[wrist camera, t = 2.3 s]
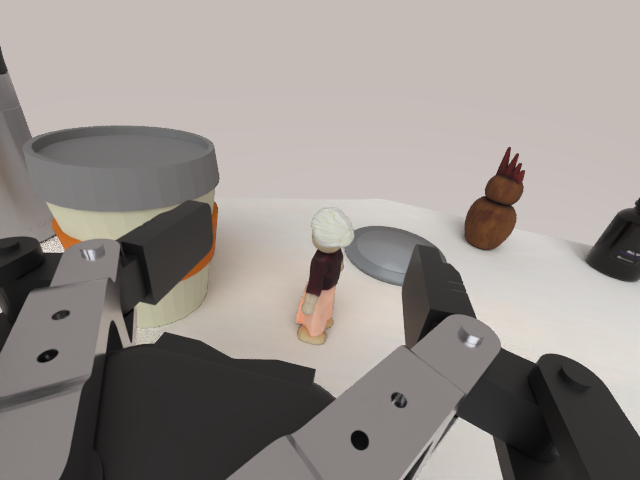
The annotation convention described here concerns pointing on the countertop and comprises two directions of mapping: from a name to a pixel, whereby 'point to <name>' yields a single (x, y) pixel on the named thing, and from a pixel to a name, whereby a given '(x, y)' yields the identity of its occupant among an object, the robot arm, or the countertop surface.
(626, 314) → the countertop surface
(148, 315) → the reusable coffee cup
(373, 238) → the slate coaster
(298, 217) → the countertop surface
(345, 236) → the grandmother figurine
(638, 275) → the supplement bottle
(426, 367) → the robot arm
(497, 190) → the wooden figurine
